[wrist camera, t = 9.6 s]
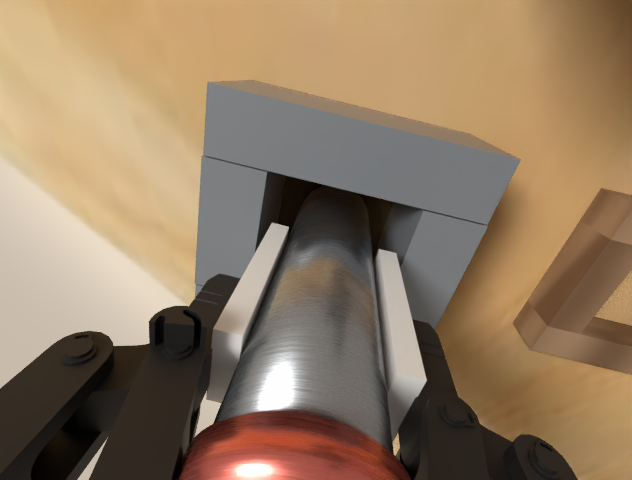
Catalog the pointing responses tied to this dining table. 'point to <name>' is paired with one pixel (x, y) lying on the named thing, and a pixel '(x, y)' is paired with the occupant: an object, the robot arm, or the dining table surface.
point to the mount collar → (585, 290)
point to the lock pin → (309, 364)
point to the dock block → (345, 182)
